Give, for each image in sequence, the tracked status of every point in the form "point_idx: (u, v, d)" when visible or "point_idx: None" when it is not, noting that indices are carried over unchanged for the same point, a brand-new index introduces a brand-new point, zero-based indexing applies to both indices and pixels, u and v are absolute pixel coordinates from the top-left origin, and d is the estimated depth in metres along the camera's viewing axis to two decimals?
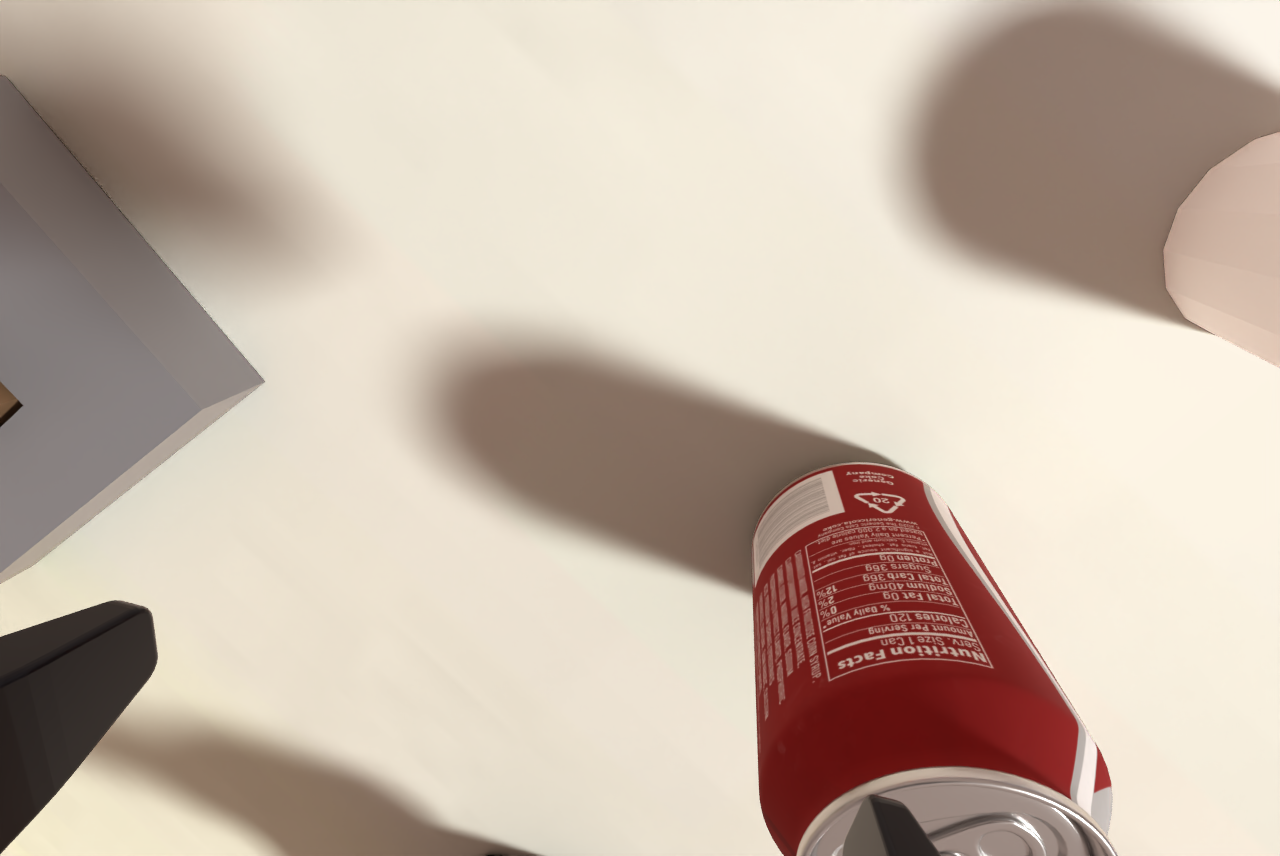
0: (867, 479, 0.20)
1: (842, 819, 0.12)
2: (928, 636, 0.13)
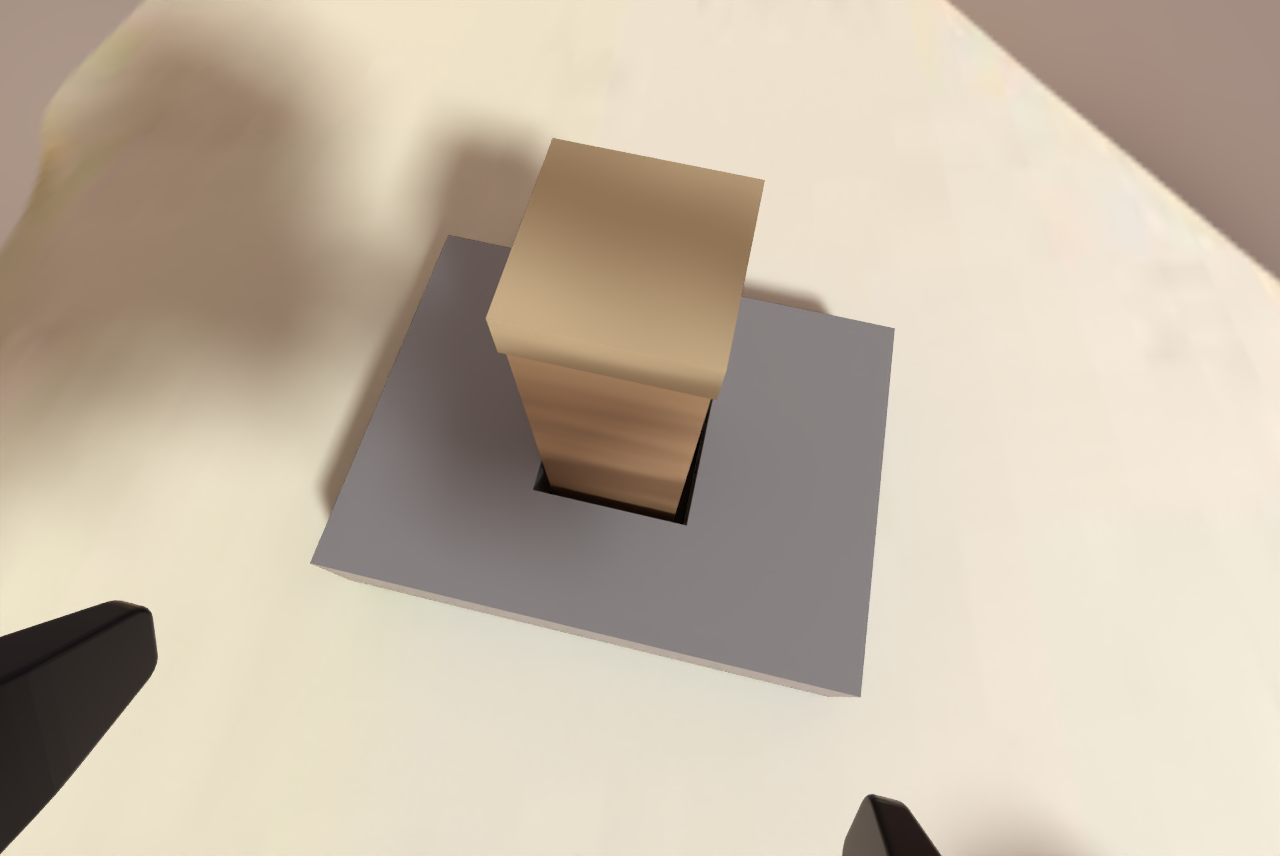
0: None
1: None
2: None
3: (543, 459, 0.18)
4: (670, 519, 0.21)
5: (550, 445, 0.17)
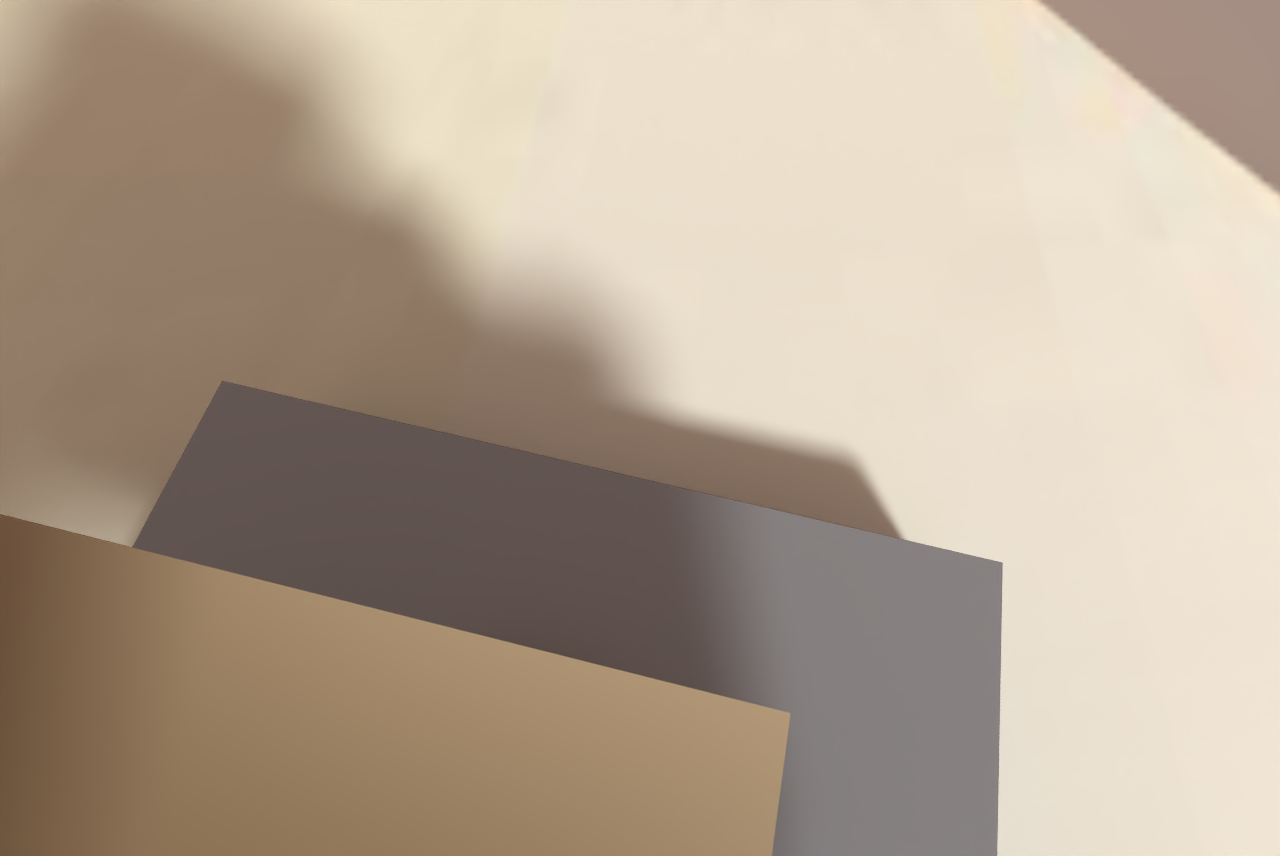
0: None
1: None
2: None
3: None
4: None
5: None
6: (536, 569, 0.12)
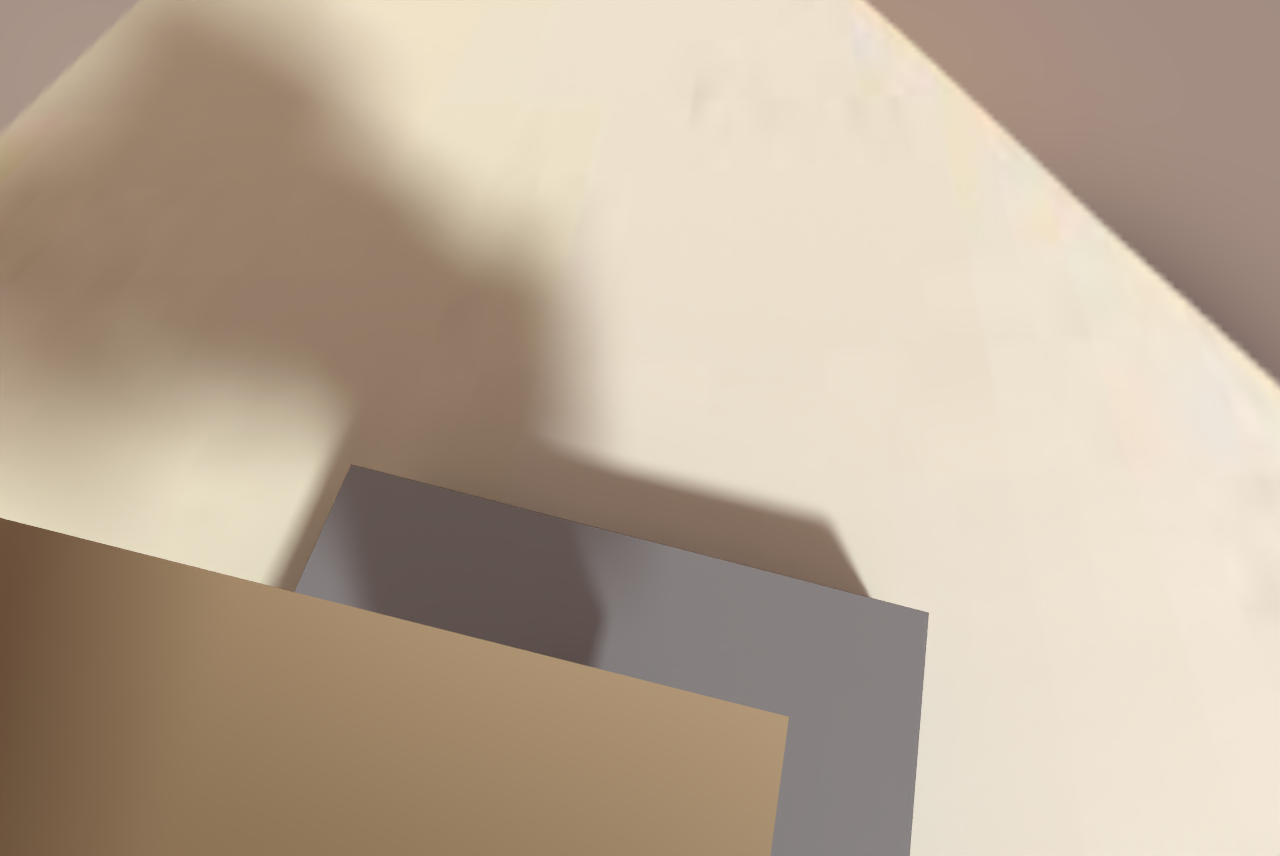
0: None
1: None
2: None
3: None
4: None
5: None
6: (586, 612, 0.17)
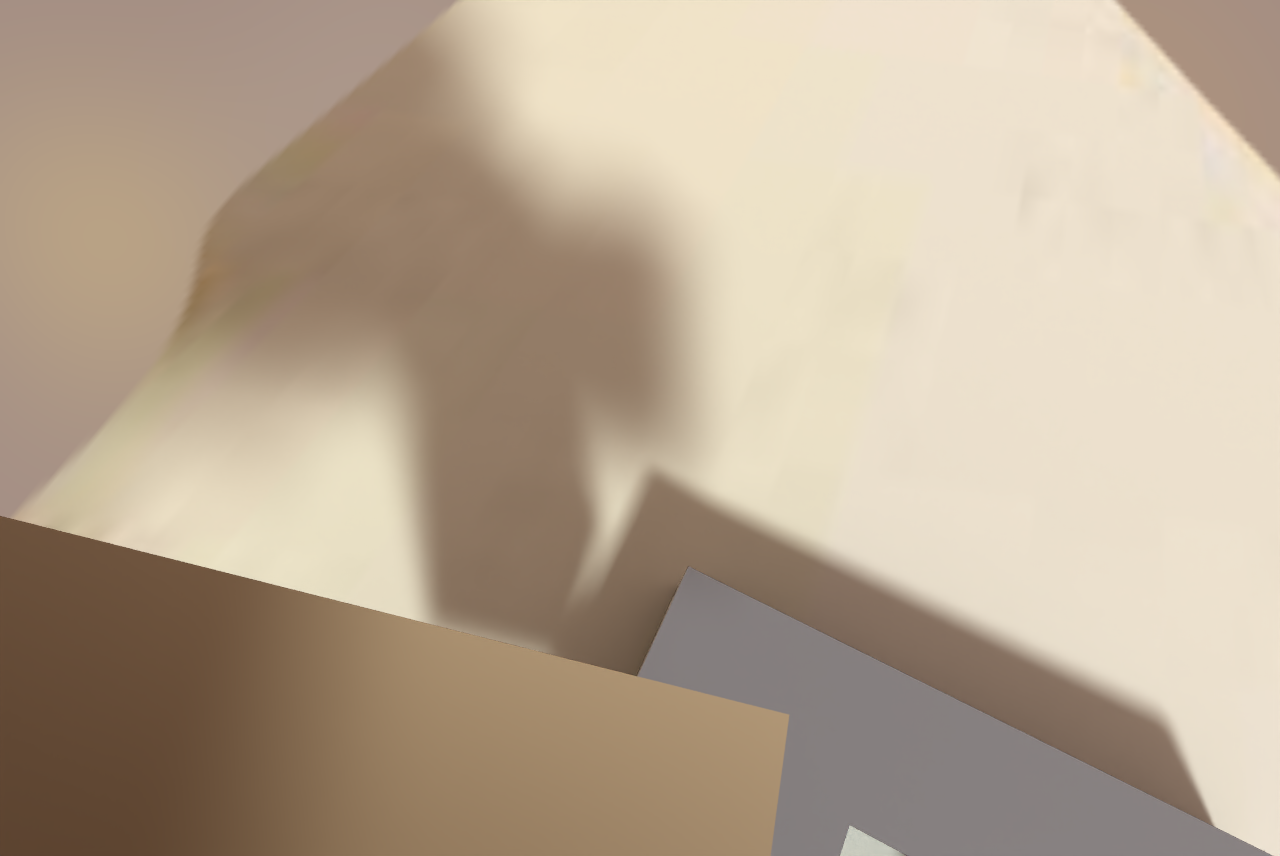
0: None
1: None
2: None
3: None
4: None
5: None
6: (944, 800, 0.15)
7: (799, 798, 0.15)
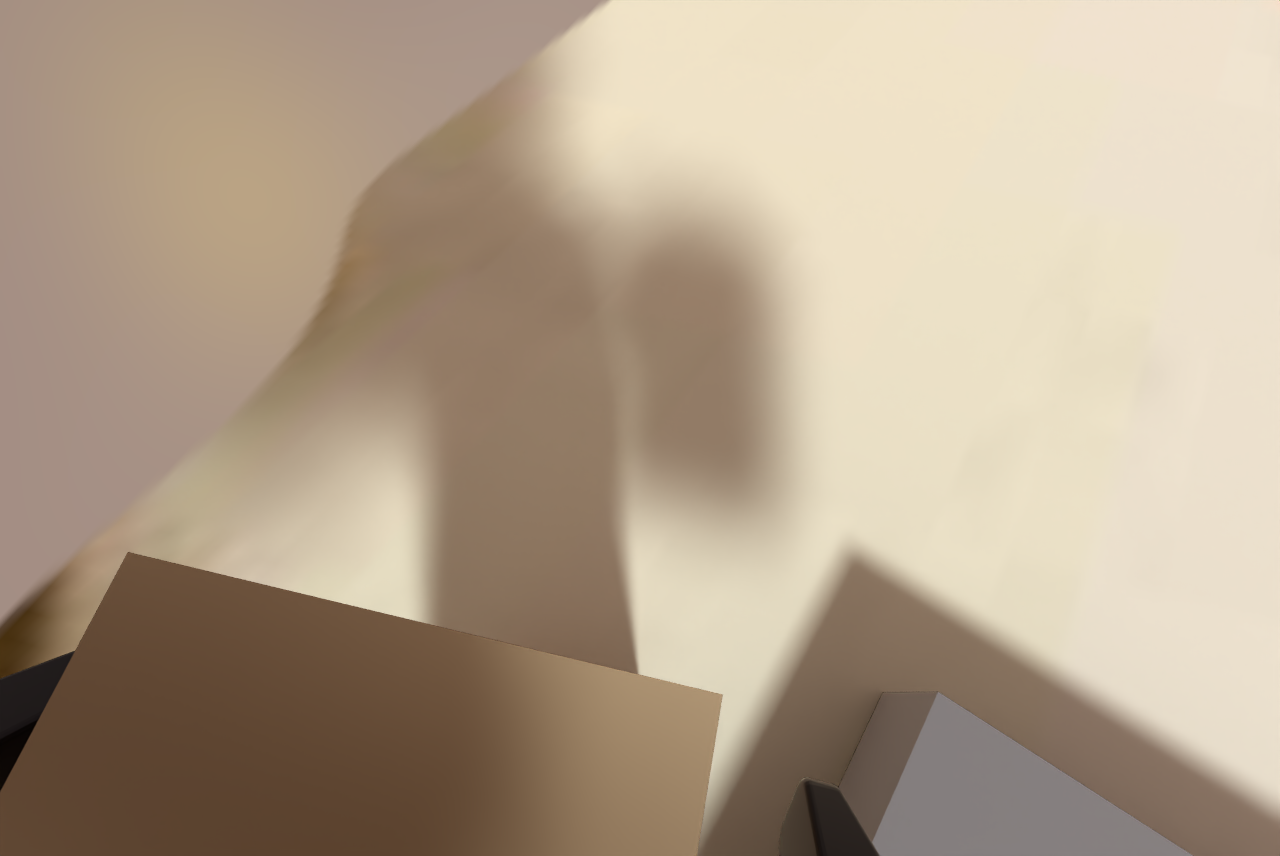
0: None
1: None
2: None
3: None
4: None
5: None
6: None
7: None
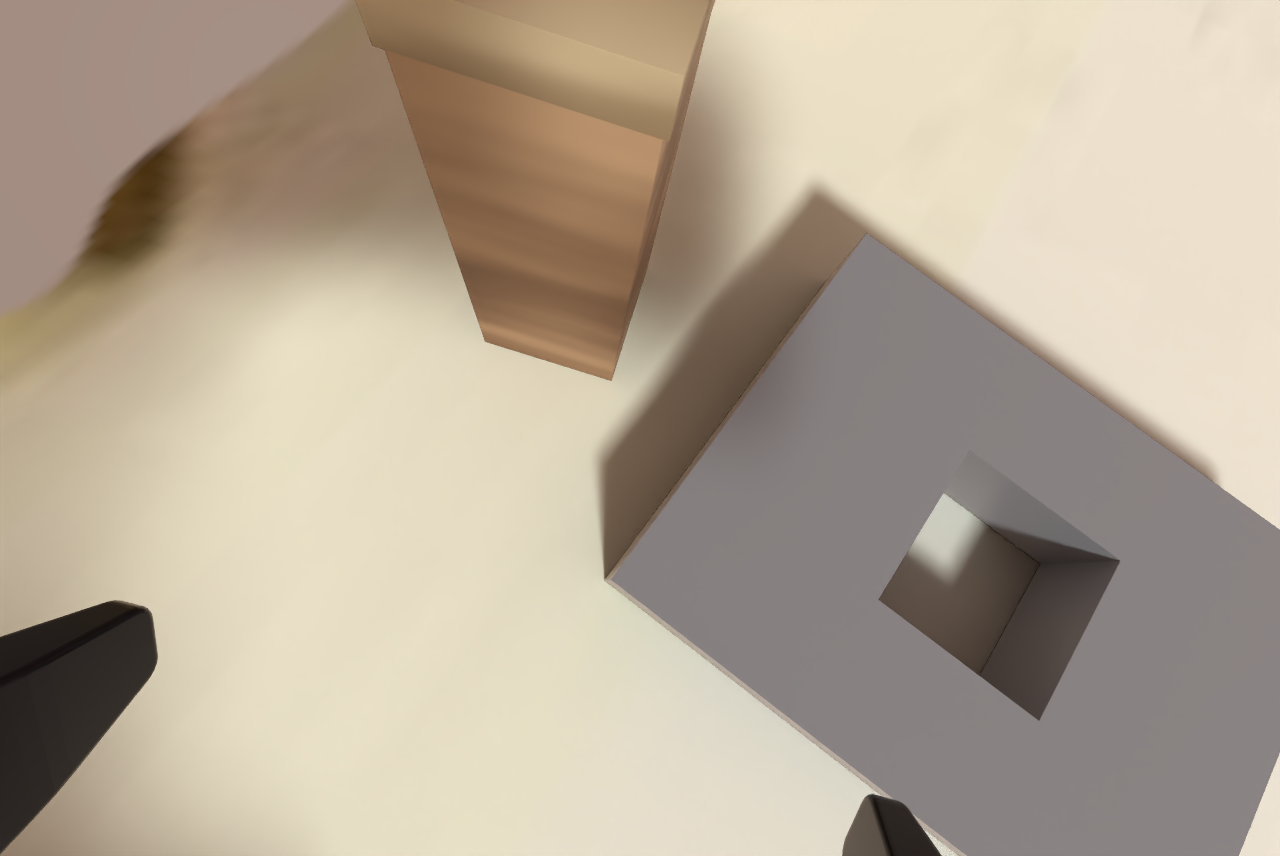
0: None
1: None
2: None
3: (460, 263, 0.15)
4: (612, 360, 0.18)
5: (466, 237, 0.14)
6: (1048, 450, 0.18)
7: (932, 423, 0.17)
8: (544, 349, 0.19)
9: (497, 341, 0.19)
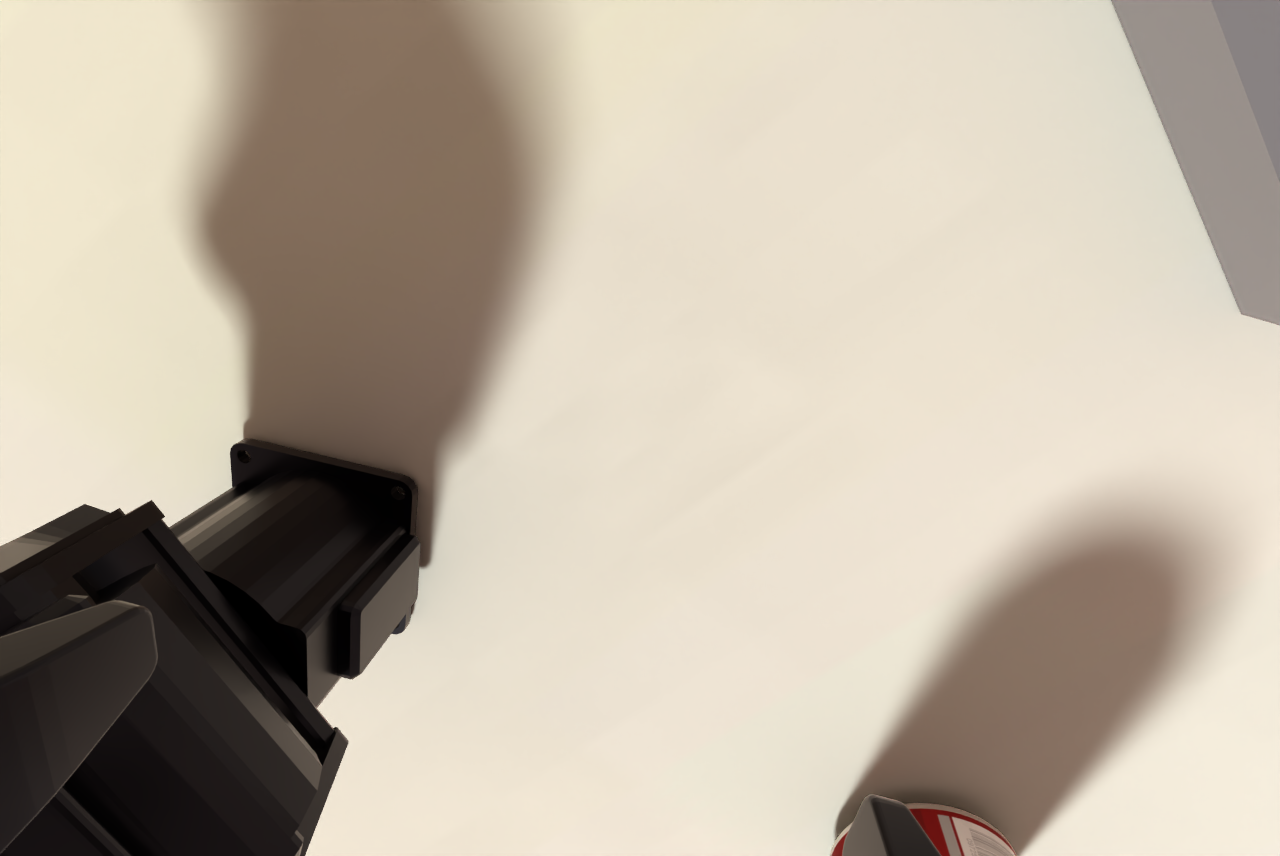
0: None
1: None
2: None
3: None
4: None
5: None
6: None
7: None
8: None
9: None
